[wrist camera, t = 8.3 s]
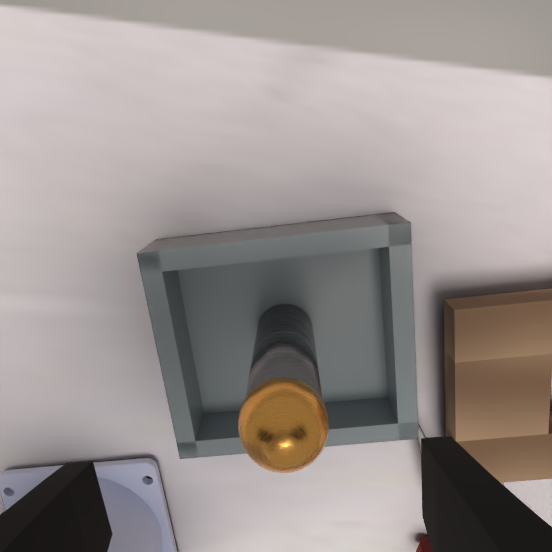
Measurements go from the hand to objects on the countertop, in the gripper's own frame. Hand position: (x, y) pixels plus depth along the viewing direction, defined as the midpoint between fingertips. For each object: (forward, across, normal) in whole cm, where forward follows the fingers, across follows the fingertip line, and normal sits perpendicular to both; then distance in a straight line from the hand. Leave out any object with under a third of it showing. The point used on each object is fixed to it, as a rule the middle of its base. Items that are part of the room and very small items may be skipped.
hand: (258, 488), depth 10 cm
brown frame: (+10, -12, +4) cm, 17 cm away
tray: (+10, 0, +1) cm, 10 cm away
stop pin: (+10, 0, +1) cm, 10 cm away
